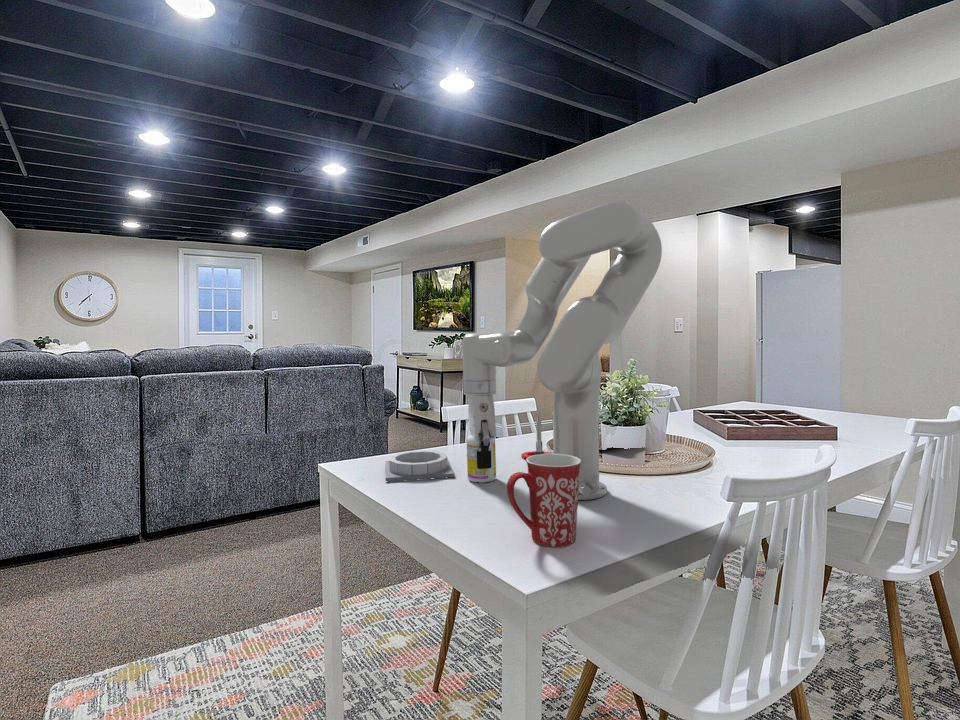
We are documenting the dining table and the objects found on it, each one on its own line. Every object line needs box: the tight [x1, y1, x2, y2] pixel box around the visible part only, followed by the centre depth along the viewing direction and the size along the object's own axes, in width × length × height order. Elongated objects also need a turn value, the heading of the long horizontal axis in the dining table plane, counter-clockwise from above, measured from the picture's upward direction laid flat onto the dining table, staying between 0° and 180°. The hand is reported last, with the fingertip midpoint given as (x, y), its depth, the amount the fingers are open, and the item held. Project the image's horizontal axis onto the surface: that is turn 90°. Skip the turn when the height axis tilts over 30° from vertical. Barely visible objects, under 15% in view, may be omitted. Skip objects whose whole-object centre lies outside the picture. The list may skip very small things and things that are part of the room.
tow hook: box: [520, 411, 553, 460], centre depth 149 cm, size 8×13×9 cm
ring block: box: [384, 450, 456, 482], centre depth 138 cm, size 16×16×4 cm
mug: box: [506, 453, 581, 548], centre depth 92 cm, size 13×9×14 cm
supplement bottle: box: [466, 425, 497, 484], centre depth 129 cm, size 7×7×13 cm
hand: (481, 463), depth 129 cm, fingers closed on supplement bottle, 6 cm apart
